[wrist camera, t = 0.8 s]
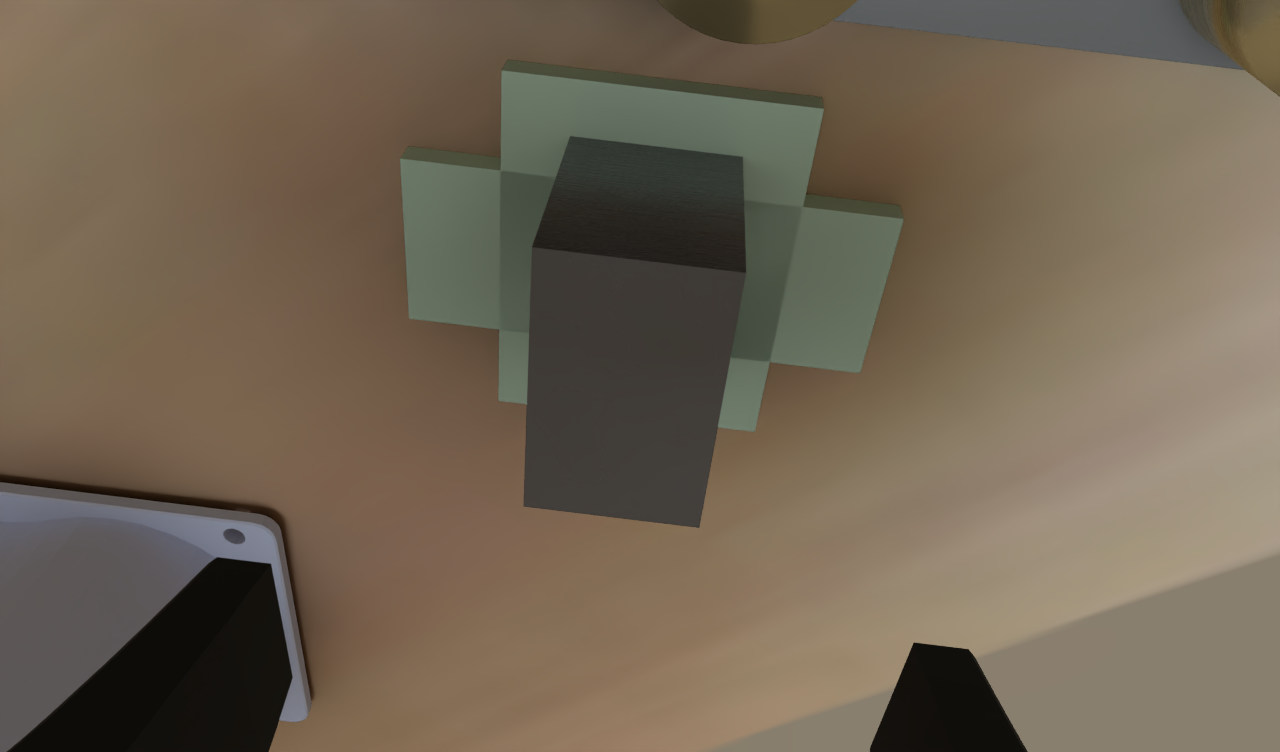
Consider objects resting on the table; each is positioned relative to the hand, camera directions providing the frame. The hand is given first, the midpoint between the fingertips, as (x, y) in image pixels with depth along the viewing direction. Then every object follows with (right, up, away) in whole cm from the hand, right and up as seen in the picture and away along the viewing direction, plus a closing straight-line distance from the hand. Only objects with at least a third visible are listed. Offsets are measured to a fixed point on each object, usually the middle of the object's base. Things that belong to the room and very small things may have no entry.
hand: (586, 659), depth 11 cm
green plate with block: (+1, +6, +8) cm, 10 cm away
